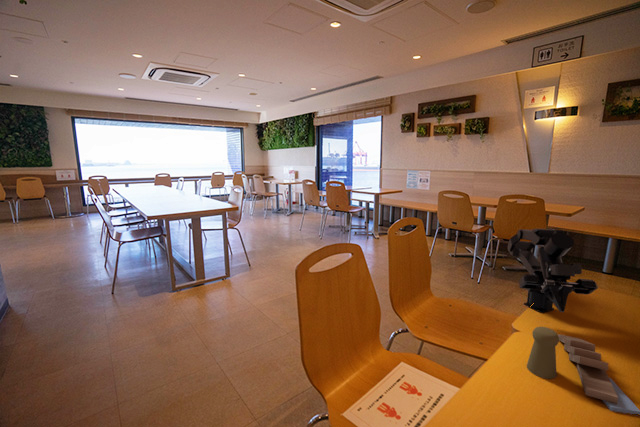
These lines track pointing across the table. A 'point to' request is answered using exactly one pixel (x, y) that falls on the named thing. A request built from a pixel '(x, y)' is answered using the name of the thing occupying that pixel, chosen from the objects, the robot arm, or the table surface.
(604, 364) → the walnut tile
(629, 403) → the slate end tile
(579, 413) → the table surface
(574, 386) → the table surface
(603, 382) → the walnut tile
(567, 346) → the walnut tile
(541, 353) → the pepper shaker
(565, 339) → the walnut tile
